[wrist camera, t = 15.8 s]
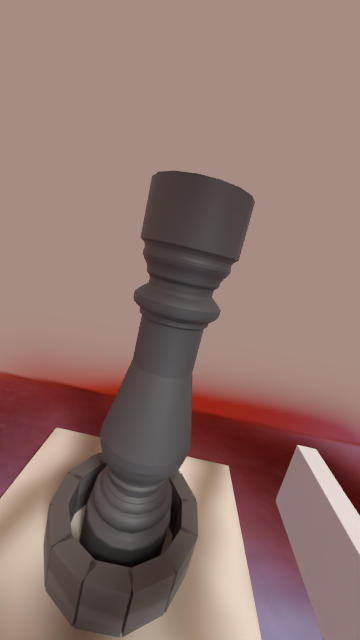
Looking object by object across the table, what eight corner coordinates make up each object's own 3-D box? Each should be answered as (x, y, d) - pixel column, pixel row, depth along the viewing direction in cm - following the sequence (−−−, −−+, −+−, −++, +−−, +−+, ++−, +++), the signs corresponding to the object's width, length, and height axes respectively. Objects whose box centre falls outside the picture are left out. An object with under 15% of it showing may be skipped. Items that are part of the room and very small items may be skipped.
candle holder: (121, 614, 16) (234, 170, 10) (61, 540, 19) (122, 166, 13) (177, 536, 21) (272, 213, 15) (122, 488, 24) (185, 203, 18)
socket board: (225, 476, 30) (236, 440, 29) (289, 869, 11) (333, 806, 10) (54, 438, 30) (60, 400, 29) (-197, 774, 10) (-212, 697, 9)
